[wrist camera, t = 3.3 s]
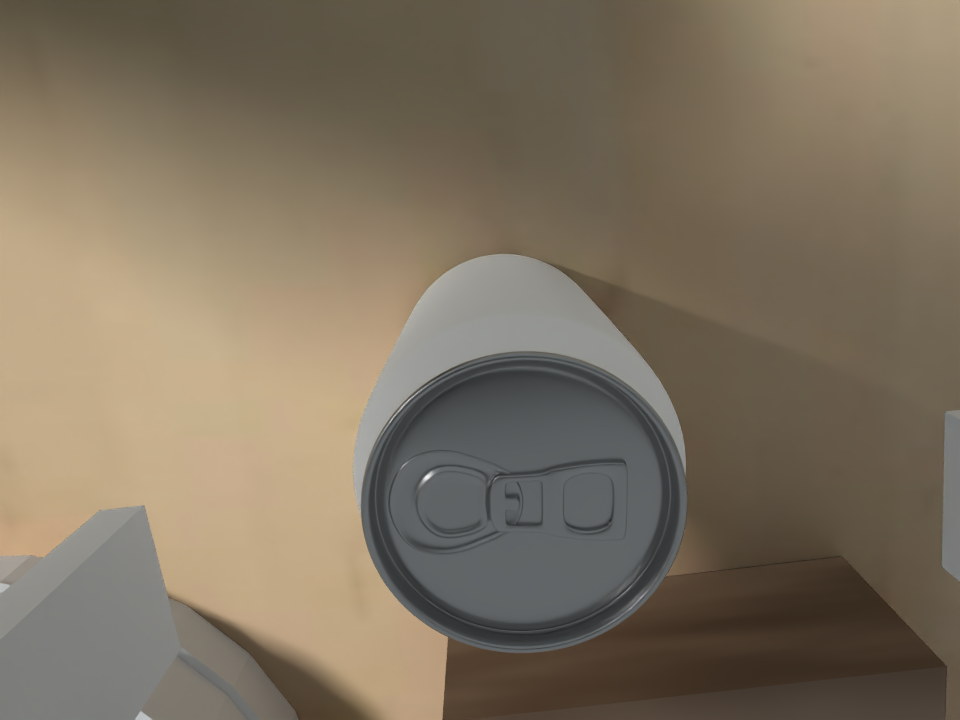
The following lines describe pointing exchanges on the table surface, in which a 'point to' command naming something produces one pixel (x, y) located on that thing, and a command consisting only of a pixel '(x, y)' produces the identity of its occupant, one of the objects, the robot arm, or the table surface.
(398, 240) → the table surface
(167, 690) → the dish
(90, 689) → the robot arm
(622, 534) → the can
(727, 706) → the walnut base
